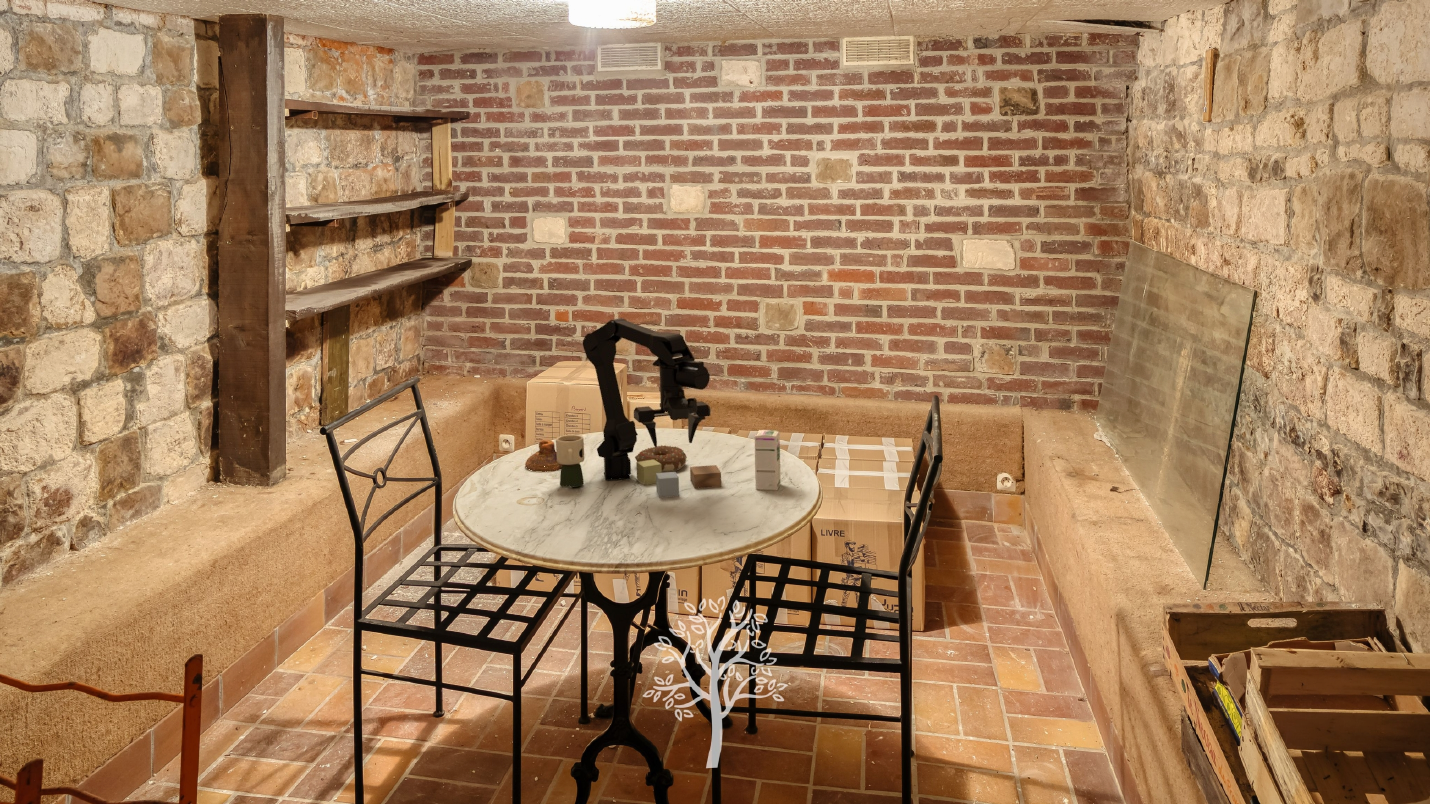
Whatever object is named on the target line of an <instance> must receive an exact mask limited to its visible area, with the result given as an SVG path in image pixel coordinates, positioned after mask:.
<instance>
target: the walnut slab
mask: <svg viewBox="0 0 1430 804" xmlns="http://www.w3.org/2000/svg"><path fill="white" fill-rule="evenodd" d="M689 473H690V475H689V476H690V482H691V484H692V486H693V488H694V489H706V488H718V487H720V488H721V487H722V472H721V470H720V469H719V467H718V465H717V464H713V465H698V466H690V467H689Z"/></svg>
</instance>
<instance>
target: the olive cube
mask: <svg viewBox="0 0 1430 804" xmlns="http://www.w3.org/2000/svg"><path fill="white" fill-rule="evenodd" d="M635 464H636V480H637V482H639V483H641V484H642V485H644V486H646V485H651V484H652V485H653V484H656V473H662V470H661V464H660V463H659V462H657V461H655V460H654V459H653V460H647V461H640V462H637V461H636V463H635Z"/></svg>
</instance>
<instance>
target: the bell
mask: <svg viewBox="0 0 1430 804" xmlns="http://www.w3.org/2000/svg"><path fill="white" fill-rule="evenodd" d="M538 448H539V449H538V450H537V451H536V452H535V453H533V454H532V455H530V456H529V457H528V458H527V459H526V460H525V463H524V465H525V468H526V467H527V468H526V470H528V469H530V470H532V471H531V472H536V471H542V472H541V473H548V472H547V471H551V472H556V470H557V471H560V470H561V466H562V464H560V463H558V462H557V453H556V444H555V442H554V441H553V440H541V441H539V443H538ZM544 466H545V467H544ZM559 469H560V470H559ZM530 470H529V471H530ZM545 471H546V472H545Z"/></svg>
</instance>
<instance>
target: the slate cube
mask: <svg viewBox="0 0 1430 804" xmlns="http://www.w3.org/2000/svg"><path fill="white" fill-rule="evenodd" d="M655 485H656V486H655V487H656V493H657V495H658V498H673V497H680V479H679V476H678V474H677V472H676V471H672V472H665V473H656V483H655Z"/></svg>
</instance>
